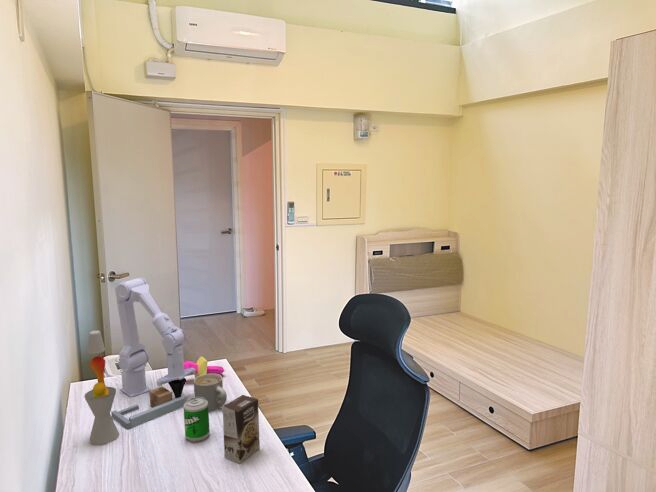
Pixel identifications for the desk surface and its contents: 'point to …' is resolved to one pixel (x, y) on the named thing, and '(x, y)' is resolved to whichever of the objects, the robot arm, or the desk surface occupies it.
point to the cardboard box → (159, 396)
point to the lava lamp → (100, 396)
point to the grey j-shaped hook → (146, 413)
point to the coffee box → (241, 428)
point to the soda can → (196, 419)
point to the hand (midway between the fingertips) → (177, 398)
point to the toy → (203, 367)
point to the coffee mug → (210, 390)
